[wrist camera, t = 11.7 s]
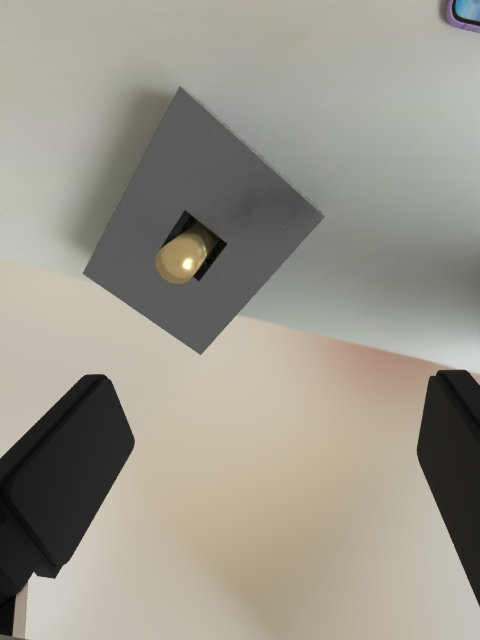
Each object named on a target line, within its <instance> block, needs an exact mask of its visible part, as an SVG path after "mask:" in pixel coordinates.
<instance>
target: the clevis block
mask: <svg viewBox="0 0 480 640" xmlns="http://www.w3.org/2000/svg"><path fill="white" fill-rule="evenodd" d="M191 215H192V216H193V217H195V218H196V219H197V220H198V221H200V222H201V223H202V224H203V225H205V226H206V227H207V228H208V229H210V230H211V231H212V232H213V233H215V234H216V235H217V236H218V237H220V238H221V239H222V240H223V241H224V242H226V243H227V244H226V245H225V246H224V248H223V249H222V250H221V252H220V253H219V254H218V256H217V257H216V258H215V260H214V261H213V262H212V264H211V265H209V264H208V263H207V262H205V261H204V262H203V263H202V265H201V266H200V267H199V269H198V270H197V271H196V273H195V274H194V275H193V277H192V278H191V279H190V280H189V281H187V282H185V283H183V284H174V283H170V282H168V281H167V280H165V279H164V278H163V277H162V276H161V275H160V274H159V272H158V270H157V268H156V262H155V261H156V256H157V253H158V252H159V250H160V249H161V248H163V247H164V246H165V245H167V244H168V243H169V242H171V241H172V240H173V239H175V238H176V237H177V236H178V234H179V233H180V231H181V229H182V228H183V226H184V225H185V223H186V222H187V220H188V219H189V217H190V216H191ZM324 217H325V216H324V215H323V214H322V212H321V211H320V210H319V209H318V208H317V207H316V206H315V205H314V204H313V203H312V202H311V201H310V200H308V199H307V198H306V197H305V196H304V195H303V194H302V193H301V192H300V191H298V190H297V189H296V188H295V187H294V186H293V185H292V184H291V183H290V182H288V181H287V180H286V179H285V178H284V177H283V176H282V175H281V174H280V173H278V172H277V171H276V170H275V169H274V168H273V167H272V166H271V165H270V164H268V163H267V162H266V161H265V160H264V159H263V158H262V157H261V156H260V155H258V154H257V153H256V152H255V151H254V150H253V149H252V148H251V147H250V146H249V145H247V144H246V143H245V142H244V141H243V140H242V139H241V138H240V137H239V136H237V135H236V134H235V133H234V132H233V131H232V130H231V129H230V128H229V127H227V126H226V125H225V124H224V123H223V122H222V121H221V120H220V119H219V118H217V117H216V116H215V115H214V114H213V113H212V112H211V111H210V110H209V109H207V108H206V107H205V106H204V105H203V104H202V103H201V102H200V101H199V100H197V99H196V98H195V97H194V96H192V95H191V94H190V93H188V92H187V91H186V90H184V89H183V88H182V87H179V89H178V91H177V93H176V95H175V97H174V99H173V101H172V103H171V104H170V106H169V108H168V110H167V112H166V114H165V116H164V118H163V120H162V122H161V124H160V126H159V128H158V130H157V131H156V133H155V135H154V137H153V139H152V141H151V143H150V145H149V147H148V149H147V151H146V153H145V155H144V157H143V158H142V160H141V162H140V164H139V166H138V168H137V170H136V172H135V174H134V176H133V178H132V180H131V182H130V184H129V185H128V187H127V189H126V191H125V193H124V195H123V197H122V199H121V201H120V203H119V205H118V207H117V209H116V211H115V212H114V214H113V216H112V218H111V220H110V222H109V224H108V226H107V228H106V230H105V232H104V234H103V236H102V238H101V239H100V241H99V243H98V245H97V247H96V249H95V251H94V253H93V255H92V257H91V259H90V261H89V263H88V265H87V266H86V268H85V270H84V272H83V274H84V275H86V276H87V277H88V278H90V279H91V280H93V281H94V282H96V283H97V284H99V285H100V286H102V287H103V288H104V289H106V290H107V291H109V292H110V293H112V294H113V295H115V296H116V297H118V298H119V299H120V300H122V301H123V302H125V303H126V304H128V305H129V306H131V307H132V308H133V309H135V310H136V311H138V312H139V313H141V314H142V315H144V316H145V317H146V318H148V319H150V320H151V321H152V322H154V323H155V324H157V325H158V326H159V327H161V328H162V329H164V330H165V331H167V332H168V333H170V334H171V335H173V336H174V337H175V338H177V339H178V340H180V341H181V342H183V343H185V344H186V345H187V346H188V347H190V348H192V349H193V350H194V351H196V352H197V353H199V354H200V355H201V354H202V353H203V352H204V351H205V350H206V348H207V347H208V346H209V345H210V344H211V343H212V342H213V341H214V339H215V338H216V337H217V336H218V335H219V334H220V333H221V332H222V331H223V329H224V328H225V327H226V326H227V325H228V324H229V323H230V322H231V321H232V319H233V318H234V317H235V316H236V315H237V314H238V313H239V312H240V310H241V309H242V308H243V307H244V306H245V305H246V304H247V303H248V302H249V300H250V299H251V298H252V297H253V296H254V295H255V294H256V293H257V291H258V290H259V289H260V288H261V287H262V286H263V285H264V284H265V283H266V281H267V280H268V279H269V278H270V277H271V276H272V275H273V274H274V272H275V271H276V270H277V269H278V268H279V267H280V266H281V265H282V264H283V262H284V261H285V260H286V259H287V258H288V257H289V256H290V255H291V253H292V252H293V251H294V250H295V249H296V248H297V247H298V246H299V245H300V243H301V242H302V241H303V240H304V239H305V238H306V237H307V236H308V234H309V233H310V232H311V231H312V230H313V229H314V228H315V227H316V226H317V224H318V223H319V222H320V221H321V220H322V219H323V218H324Z"/></svg>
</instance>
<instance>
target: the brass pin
mask: <svg viewBox="0 0 480 640" xmlns="http://www.w3.org/2000/svg"><path fill="white" fill-rule="evenodd" d="M218 241H219V237H218V236H217V235H216V234H215V233H213V232H212V231H211V230H210V229H208V228H207V227H206V226H205V225H203V224H202V223H201V222H200V221H198V222H196V223H195V224H194V225H192V226H191V227H190V228H188V229H187V230H186V231H184V232H183V233H182V234H180V235H179V236H177V237H176V238H175V239H173V240H172V241H171V242H169V243H168V244H167V245H165V246H164V247H163V248H161V249H160V250H159V252H158V253H157V256H156V261H155V262H156V268H157V270H158V272H159V274H160V275H161V276H162V277H163V278H164V279H165V280H167V281H168V282H170V283H174V284H183V283H185V282H187V281H189V280H190V279H191V278H192V277H193V275H194V274H195V273H196V271H197V270H198V269H199V267H200V266H201V265H202V263H203V262H204V261H205V259H206V258H207V257H208V256H209V254H210V253H211V252H212V250H213V249H214V248H215V246H216V245H217V243H218Z"/></svg>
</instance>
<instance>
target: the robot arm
mask: <svg viewBox="0 0 480 640" xmlns="http://www.w3.org/2000/svg"><path fill="white" fill-rule="evenodd" d="M134 443H135V440H134V436H133V434H132V431H131V429H130V426H129V424H128V421H127V419H126V416H125V414H124V411H123V409H122V406H121V404H120V401H119V399H118V396H117V394H116V391H115V389H114V386H113V384H112V382H111V380H110V379H108V378H107V377H106V376H105V375H102V374H92V375H85V376H83V377H82V378H81V379H80V380H79V381H78V382H77V383H76V384H75V385H74V386H73V387H72V388H71V389H70V390H69V391H68V392H67V393H66V394H65V395H64V396H63V397H62V398H61V399H60V400H59V401H58V402H57V403H56V404H55V405H54V406H53V407H52V408H51V409H50V410H49V411H48V412H47V413H46V414H45V415H44V416H43V417H42V418H41V419H40V420H39V421H38V422H37V423H36V424H35V425H34V426H33V427H32V428H31V429H30V430H29V431H28V432H27V433H26V434H25V435H24V436H23V437H22V438H21V439H20V440H19V441H18V442H16V443H15V445H14V446H12V447H11V448H10V449H9V451H7V453H6V454H5V455H3V456H2V458H1V459H0V640H26V639H25V624H26V608H27V591H28V580H29V578H30V577H31V575H32V573H33V572H35V574H36V575H37V576H41V577H48V578H54V579H55V578H56V576H57V574H58V573H59V571H60V569H61V568H62V566H63V565H64V564H66V563H67V562H68V561H69V560H70V558H71V557H72V555H73V554H74V552H75V550H76V548H77V547H78V545H79V543H80V541H81V540H82V538H83V536H84V534H85V533H86V531H87V529H88V527H89V526H90V524H91V522H92V520H93V519H94V517H95V515H96V513H97V512H98V510H99V508H100V506H101V504H102V503H103V501H104V499H105V497H106V496H107V494H108V492H109V490H110V489H111V487H112V485H113V483H114V482H115V480H116V478H117V476H118V474H119V473H120V471H121V469H122V468H123V466H124V464H125V462H126V461H127V459H128V457H129V455H130V454H131V452H132V450H133V448H134ZM417 456H418V460H419V463H420V465H421V468H422V470H423V472H424V475H425V477H426V480H427V482H428V484H429V487H430V489H431V492H432V494H433V496H434V498H435V501H436V503H437V506H438V508H439V510H440V513H441V516H442V518H443V520H444V523H445V525H446V527H447V530H448V532H449V534H450V537H451V539H452V542H453V544H454V546H455V549H456V551H457V554H458V556H459V558H460V561H461V563H462V566H463V568H464V570H465V573H466V575H467V578H468V580H469V582H470V585H471V587H472V589H473V592H474V594H475V597H476V599H477V601H478V603H479V606H480V385H479V384H478V383H477V382H476V381H475V379H474V378H473V377H472V376H471V375H470V373H469V372H467V371H466V370H439V371H438V372H437V374H436V376H430V378H429V381H428V387H427V393H426V399H425V404H424V410H423V417H422V422H421V428H420V433H419V440H418V445H417Z"/></svg>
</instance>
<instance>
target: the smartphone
mask: <svg viewBox="0 0 480 640" xmlns="http://www.w3.org/2000/svg"><path fill="white" fill-rule="evenodd" d="M445 17H446V20H447V22H448V23H449V24H450V25H451V26H453V27H456V28H460V29H464V30H469V31H473V32H478V33H480V0H448V3H447V6H446V12H445Z"/></svg>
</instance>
